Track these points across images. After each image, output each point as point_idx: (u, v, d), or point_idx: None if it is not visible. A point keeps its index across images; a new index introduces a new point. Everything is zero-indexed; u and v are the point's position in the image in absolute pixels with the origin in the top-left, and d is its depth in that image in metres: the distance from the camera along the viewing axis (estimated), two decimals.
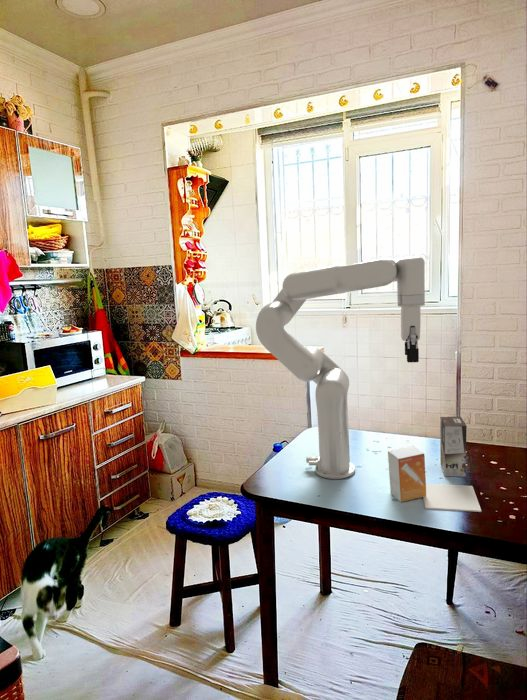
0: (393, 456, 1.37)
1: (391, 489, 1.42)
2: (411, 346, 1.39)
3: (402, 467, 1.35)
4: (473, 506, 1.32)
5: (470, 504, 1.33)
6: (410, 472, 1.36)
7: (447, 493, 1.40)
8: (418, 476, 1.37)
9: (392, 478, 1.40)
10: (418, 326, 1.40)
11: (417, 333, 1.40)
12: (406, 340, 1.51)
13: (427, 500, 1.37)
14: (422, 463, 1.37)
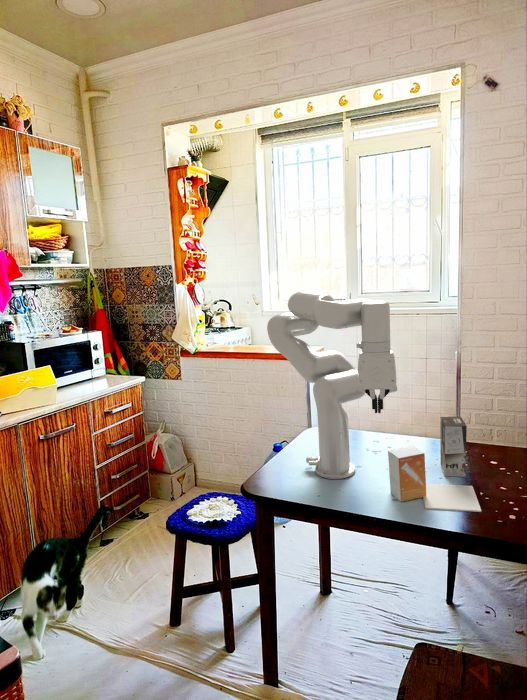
0: (393, 456, 1.38)
1: (391, 489, 1.42)
2: None
3: (403, 466, 1.35)
4: (473, 506, 1.32)
5: (470, 504, 1.33)
6: (410, 471, 1.36)
7: (447, 493, 1.40)
8: (418, 476, 1.37)
9: (392, 478, 1.40)
10: None
11: None
12: (374, 395, 1.36)
13: (427, 500, 1.37)
14: (422, 463, 1.37)
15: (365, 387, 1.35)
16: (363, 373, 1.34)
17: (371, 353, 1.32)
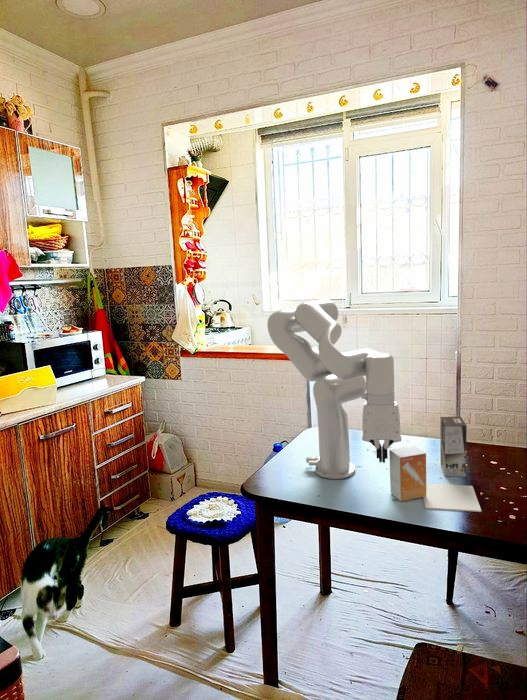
0: (395, 455, 1.37)
1: (391, 488, 1.42)
2: None
3: (404, 466, 1.35)
4: (473, 506, 1.32)
5: (470, 504, 1.33)
6: (411, 471, 1.36)
7: (447, 493, 1.40)
8: (419, 476, 1.37)
9: (393, 477, 1.40)
10: None
11: None
12: (379, 444, 1.39)
13: (427, 500, 1.37)
14: (424, 463, 1.37)
15: (370, 437, 1.37)
16: (368, 424, 1.37)
17: (375, 405, 1.34)
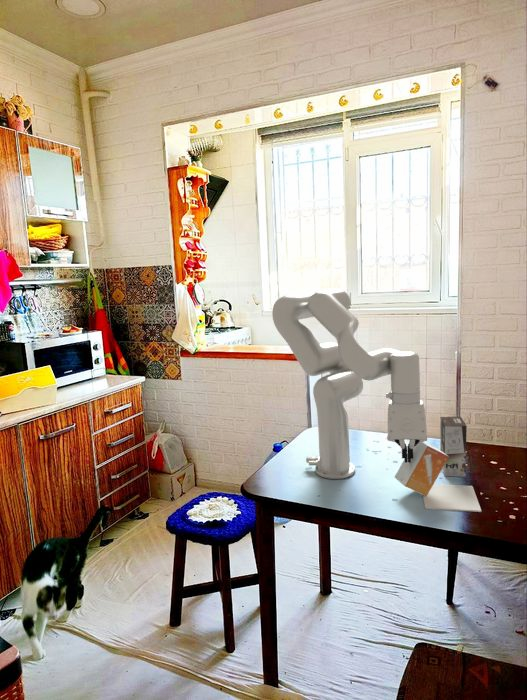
0: (421, 443, 1.38)
1: (397, 474, 1.41)
2: None
3: (426, 455, 1.36)
4: (473, 506, 1.32)
5: (470, 504, 1.33)
6: (428, 464, 1.37)
7: (447, 493, 1.40)
8: (432, 473, 1.38)
9: (406, 463, 1.40)
10: None
11: None
12: (404, 444, 1.37)
13: (427, 500, 1.37)
14: (442, 464, 1.38)
15: (395, 437, 1.35)
16: (393, 424, 1.35)
17: (401, 404, 1.32)
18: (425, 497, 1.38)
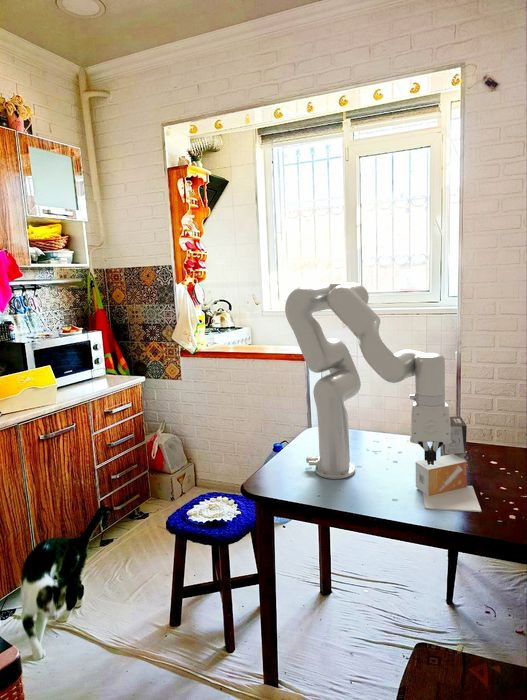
0: (459, 458, 1.43)
1: (421, 461, 1.43)
2: None
3: (459, 467, 1.40)
4: (473, 506, 1.32)
5: (470, 504, 1.33)
6: (453, 475, 1.40)
7: (447, 493, 1.40)
8: (448, 484, 1.40)
9: None
10: None
11: None
12: (428, 446, 1.36)
13: (427, 500, 1.37)
14: (458, 486, 1.42)
15: (419, 439, 1.34)
16: (417, 426, 1.34)
17: (426, 406, 1.31)
18: (425, 497, 1.38)
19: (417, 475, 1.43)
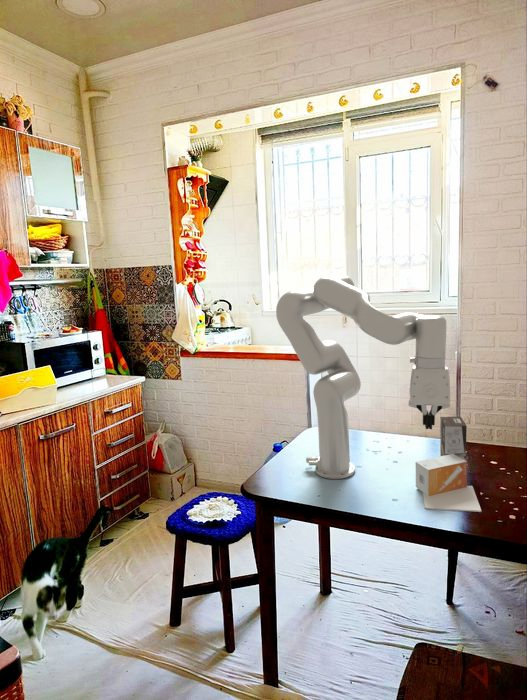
0: (459, 458, 1.43)
1: (421, 461, 1.43)
2: None
3: (459, 467, 1.40)
4: (473, 506, 1.32)
5: (470, 504, 1.33)
6: (453, 475, 1.40)
7: (447, 493, 1.40)
8: (448, 484, 1.40)
9: (435, 460, 1.43)
10: None
11: None
12: (426, 410, 1.34)
13: (427, 500, 1.37)
14: (458, 486, 1.42)
15: (418, 403, 1.32)
16: (416, 389, 1.32)
17: (426, 369, 1.29)
18: (425, 497, 1.38)
19: (417, 475, 1.43)
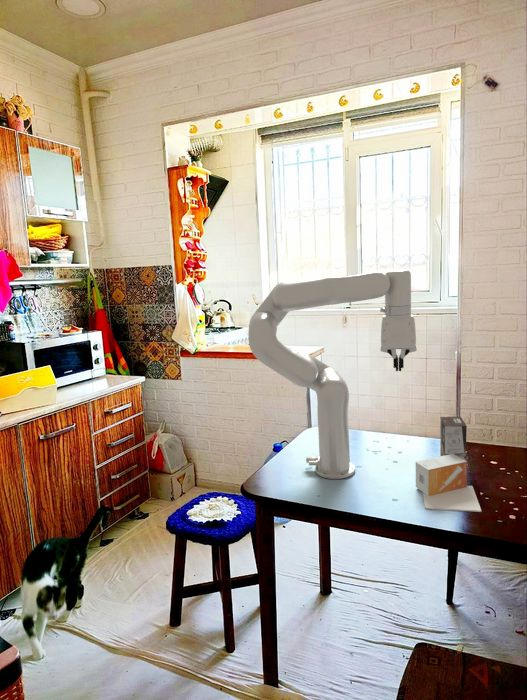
0: (459, 458, 1.43)
1: (421, 461, 1.43)
2: None
3: (459, 467, 1.40)
4: (473, 506, 1.32)
5: (470, 504, 1.33)
6: (453, 475, 1.40)
7: (447, 493, 1.40)
8: (448, 484, 1.40)
9: (435, 460, 1.43)
10: None
11: None
12: (396, 354, 1.52)
13: (427, 500, 1.37)
14: (458, 486, 1.42)
15: (387, 347, 1.50)
16: (386, 335, 1.50)
17: (393, 316, 1.47)
18: (425, 497, 1.38)
19: (417, 475, 1.43)
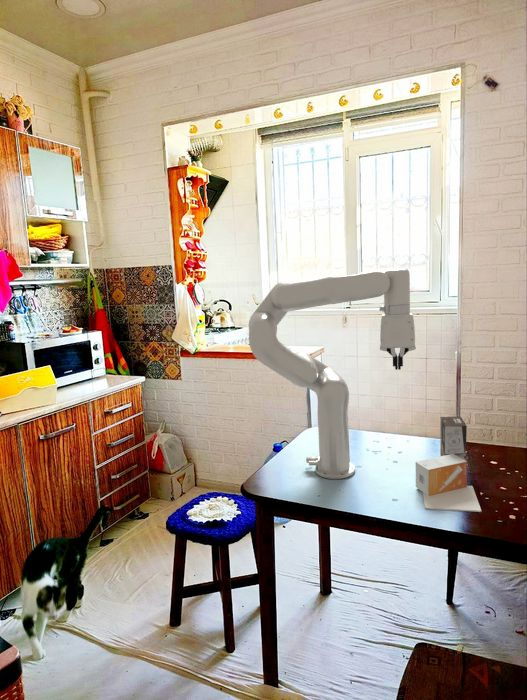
0: (459, 458, 1.43)
1: (421, 461, 1.43)
2: None
3: (459, 467, 1.40)
4: (473, 506, 1.32)
5: (470, 504, 1.33)
6: (453, 475, 1.40)
7: (447, 493, 1.40)
8: (448, 484, 1.40)
9: (435, 460, 1.43)
10: None
11: None
12: (395, 353, 1.52)
13: (427, 500, 1.37)
14: (458, 486, 1.42)
15: (387, 346, 1.51)
16: (385, 333, 1.50)
17: (393, 315, 1.48)
18: (425, 497, 1.38)
19: (417, 475, 1.43)
